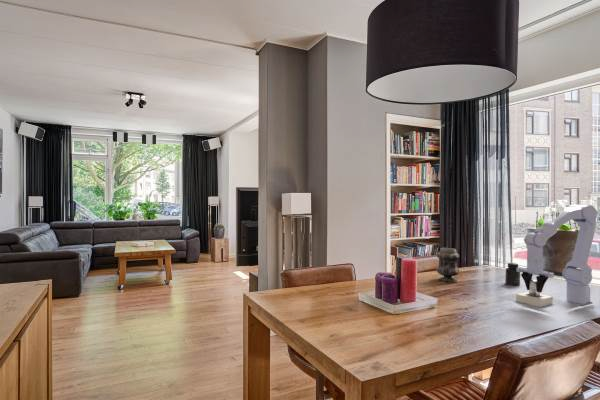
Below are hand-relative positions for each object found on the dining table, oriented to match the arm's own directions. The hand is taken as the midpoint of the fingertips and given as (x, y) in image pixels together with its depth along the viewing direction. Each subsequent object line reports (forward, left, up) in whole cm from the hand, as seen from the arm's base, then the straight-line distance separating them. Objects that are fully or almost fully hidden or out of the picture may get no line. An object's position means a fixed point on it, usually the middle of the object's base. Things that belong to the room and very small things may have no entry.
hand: (534, 291), depth 159 cm
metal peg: (0, 0, -2) cm, 2 cm away
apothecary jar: (-5, -49, -6) cm, 50 cm away
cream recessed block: (-4, -3, -6) cm, 8 cm away
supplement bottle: (-25, -24, -6) cm, 35 cm away
